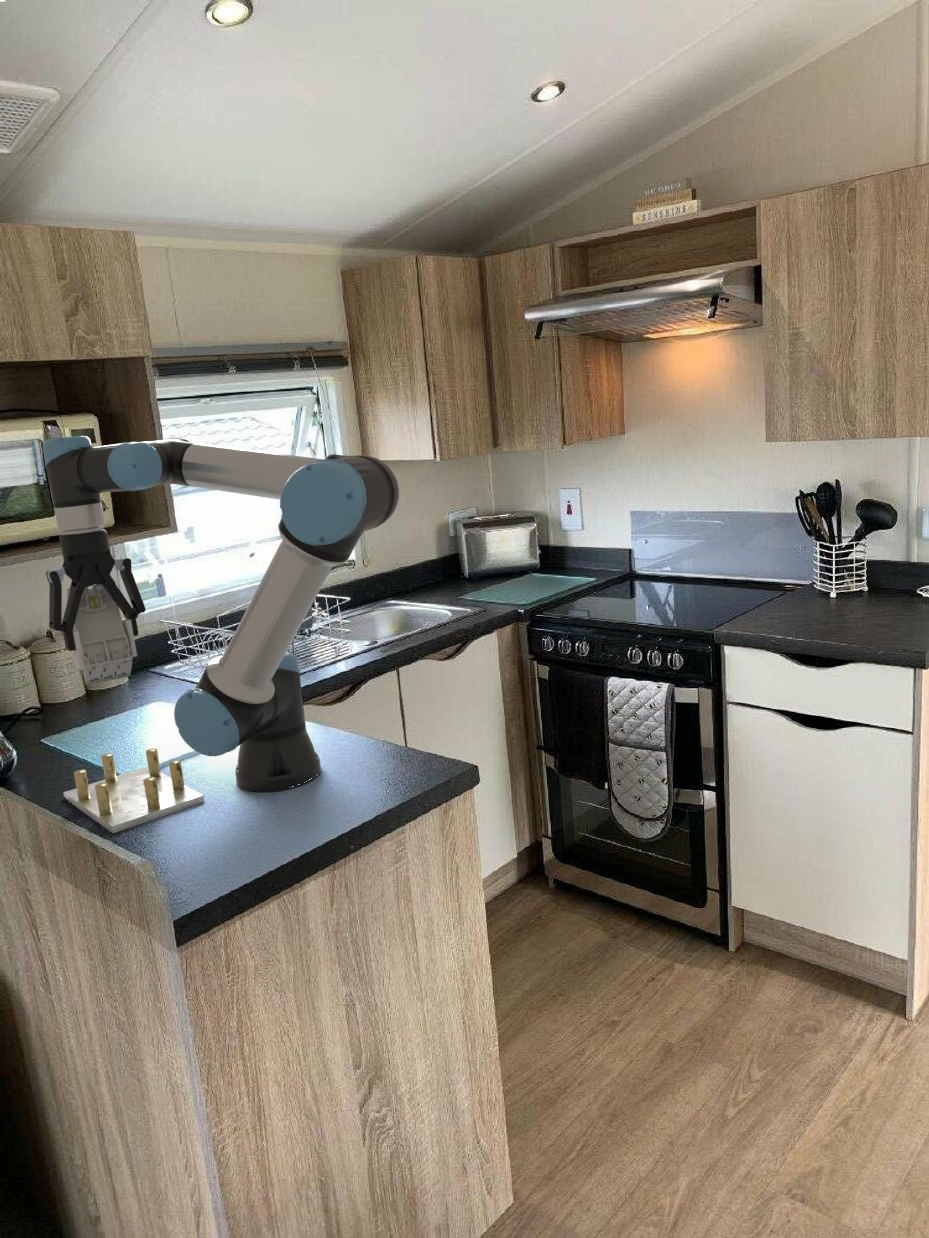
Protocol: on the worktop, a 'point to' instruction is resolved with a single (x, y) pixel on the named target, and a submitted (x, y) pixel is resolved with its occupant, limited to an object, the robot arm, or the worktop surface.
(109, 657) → the circuit breaker
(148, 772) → the mounting plate
